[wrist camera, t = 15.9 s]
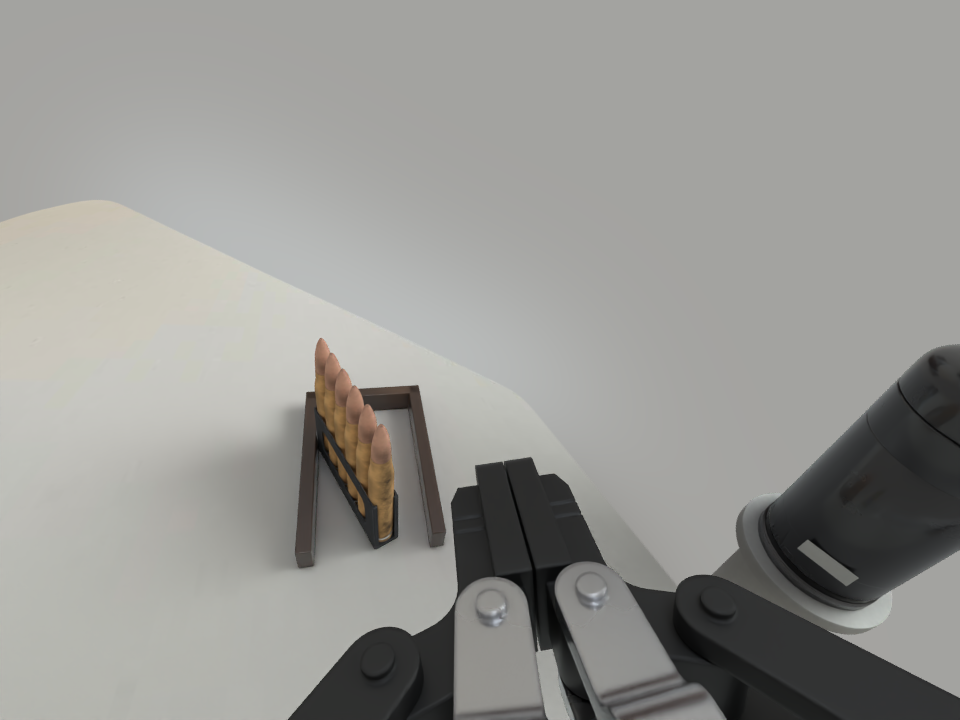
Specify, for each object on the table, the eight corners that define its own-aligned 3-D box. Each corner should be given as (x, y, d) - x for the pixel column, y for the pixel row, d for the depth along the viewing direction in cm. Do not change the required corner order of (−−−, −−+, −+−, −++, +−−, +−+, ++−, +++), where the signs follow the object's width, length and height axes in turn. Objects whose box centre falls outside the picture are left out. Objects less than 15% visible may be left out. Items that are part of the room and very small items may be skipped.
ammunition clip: (317, 446, 38) (302, 334, 30) (338, 438, 39) (328, 327, 31) (375, 550, 32) (373, 442, 24) (398, 537, 33) (404, 430, 25)
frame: (417, 399, 44) (418, 384, 43) (443, 545, 33) (446, 531, 32) (308, 407, 41) (306, 391, 40) (298, 568, 30) (294, 554, 29)
